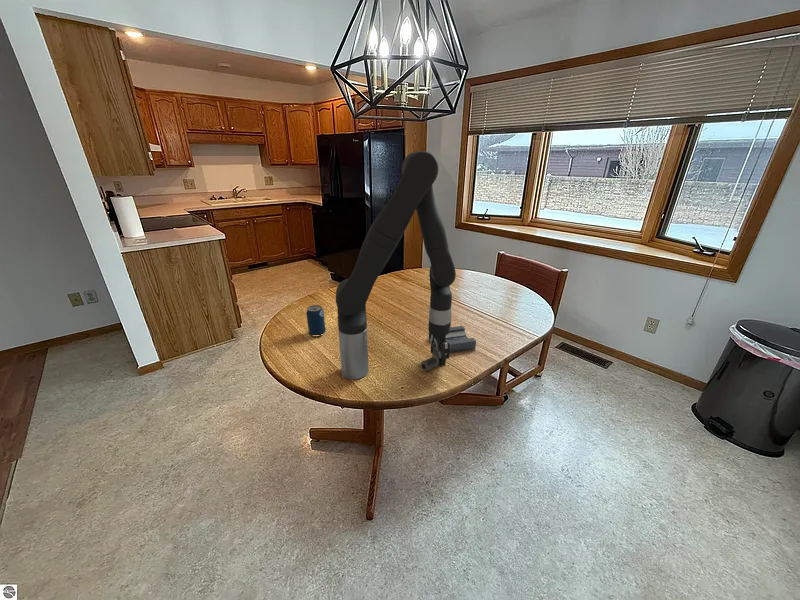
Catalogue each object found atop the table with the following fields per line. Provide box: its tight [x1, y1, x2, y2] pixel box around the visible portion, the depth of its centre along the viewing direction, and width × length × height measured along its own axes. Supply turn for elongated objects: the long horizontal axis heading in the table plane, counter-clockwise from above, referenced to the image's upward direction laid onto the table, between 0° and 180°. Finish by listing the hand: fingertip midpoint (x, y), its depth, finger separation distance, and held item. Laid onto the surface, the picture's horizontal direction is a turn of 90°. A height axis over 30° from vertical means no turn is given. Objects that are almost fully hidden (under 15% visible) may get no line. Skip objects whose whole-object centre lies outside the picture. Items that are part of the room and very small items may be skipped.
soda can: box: [305, 304, 327, 336], centre depth 134 cm, size 7×7×12 cm
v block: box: [432, 325, 477, 354], centre depth 129 cm, size 14×12×4 cm
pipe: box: [420, 340, 450, 372], centre depth 114 cm, size 6×13×8 cm, turn 134°
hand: (437, 359), depth 115 cm, fingers open, 8 cm apart
